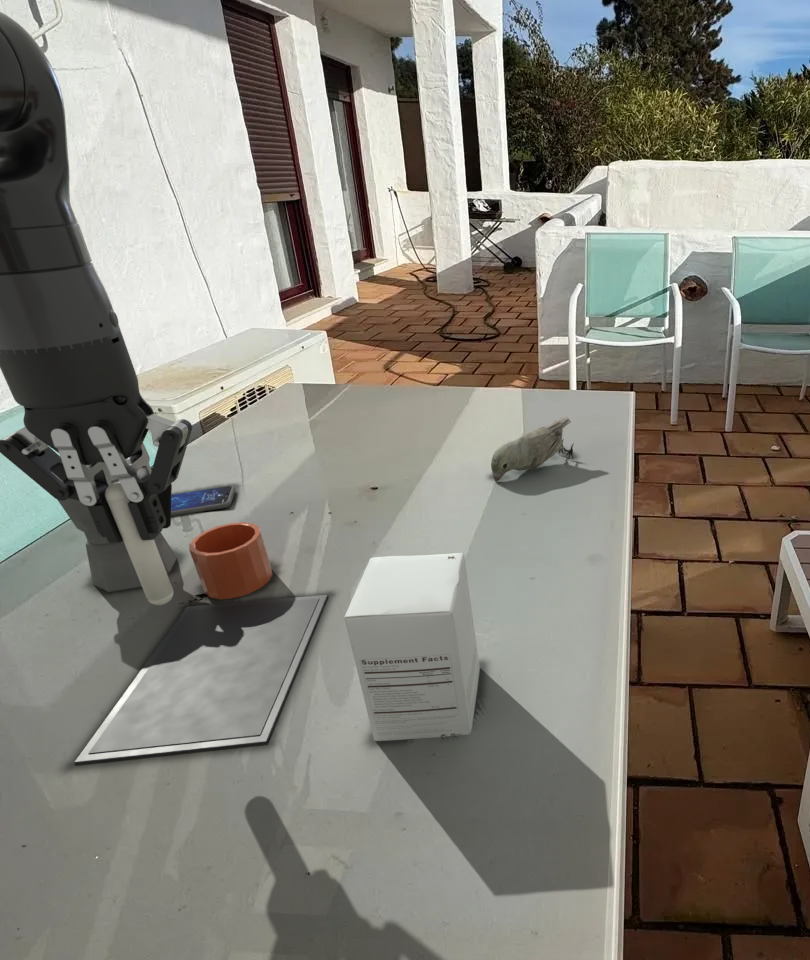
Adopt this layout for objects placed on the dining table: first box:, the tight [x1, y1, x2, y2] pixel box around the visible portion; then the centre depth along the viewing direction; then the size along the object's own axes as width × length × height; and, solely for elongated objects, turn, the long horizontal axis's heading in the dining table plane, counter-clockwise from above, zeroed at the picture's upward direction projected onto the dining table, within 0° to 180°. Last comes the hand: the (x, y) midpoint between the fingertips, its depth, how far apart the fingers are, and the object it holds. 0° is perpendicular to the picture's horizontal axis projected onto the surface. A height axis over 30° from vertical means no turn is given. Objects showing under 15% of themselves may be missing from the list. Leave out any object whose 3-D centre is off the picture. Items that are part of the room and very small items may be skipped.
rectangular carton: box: [343, 552, 481, 742], centre depth 58 cm, size 9×9×15 cm
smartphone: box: [171, 485, 236, 517], centre depth 98 cm, size 7×1×15 cm
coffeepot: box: [52, 467, 178, 593], centre depth 78 cm, size 15×9×18 cm, turn 85°
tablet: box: [73, 594, 329, 765], centre depth 66 cm, size 16×22×1 cm
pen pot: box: [188, 521, 273, 600], centre depth 78 cm, size 8×8×7 cm
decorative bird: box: [490, 416, 575, 483], centre depth 108 cm, size 5×16×8 cm, turn 132°
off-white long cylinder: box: [105, 482, 174, 606], centre depth 54 cm, size 2×2×12 cm
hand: (137, 536), depth 54 cm, fingers closed on off-white long cylinder, 2 cm apart
